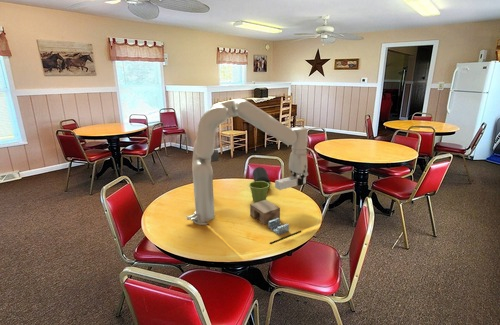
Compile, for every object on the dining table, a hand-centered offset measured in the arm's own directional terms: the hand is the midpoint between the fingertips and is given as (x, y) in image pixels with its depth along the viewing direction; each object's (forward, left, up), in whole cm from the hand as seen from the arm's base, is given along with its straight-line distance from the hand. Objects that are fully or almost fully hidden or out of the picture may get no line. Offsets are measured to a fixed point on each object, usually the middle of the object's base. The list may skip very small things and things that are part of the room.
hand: (297, 183), depth 155 cm
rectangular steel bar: (-5, 0, 0) cm, 5 cm away
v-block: (-24, -14, -15) cm, 31 cm away
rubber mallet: (-32, +43, -15) cm, 56 cm away
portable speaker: (+5, +40, -16) cm, 43 cm away
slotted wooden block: (-22, 0, -15) cm, 27 cm away
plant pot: (-12, +19, -15) cm, 27 cm away
